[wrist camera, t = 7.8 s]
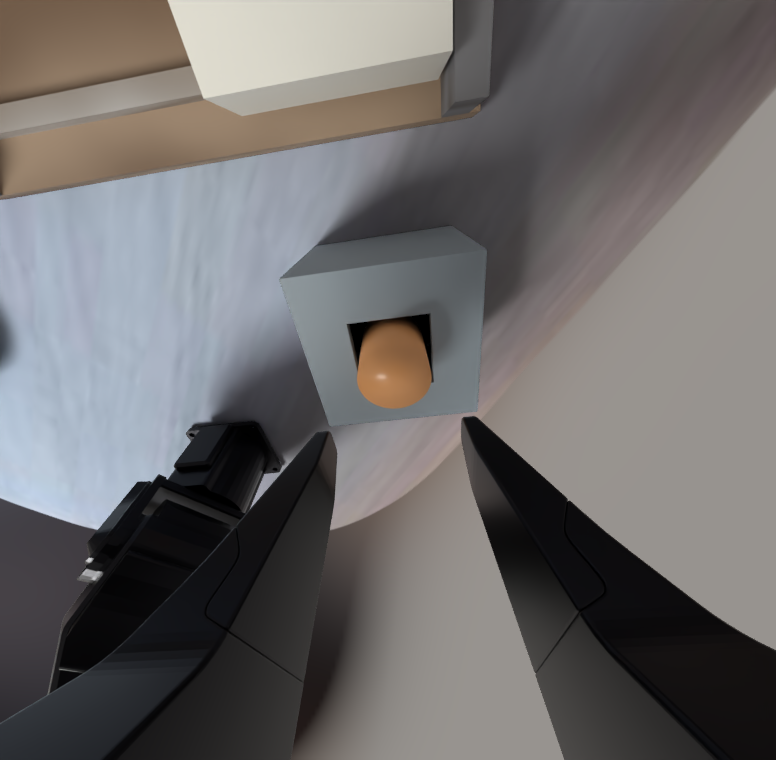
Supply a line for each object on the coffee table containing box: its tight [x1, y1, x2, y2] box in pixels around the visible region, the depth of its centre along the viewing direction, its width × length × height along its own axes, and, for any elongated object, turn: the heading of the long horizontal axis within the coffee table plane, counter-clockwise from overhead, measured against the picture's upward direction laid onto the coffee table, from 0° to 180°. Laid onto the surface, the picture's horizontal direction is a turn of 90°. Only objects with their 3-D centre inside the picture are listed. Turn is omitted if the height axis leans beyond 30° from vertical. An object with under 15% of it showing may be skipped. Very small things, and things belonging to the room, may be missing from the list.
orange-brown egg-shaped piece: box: [357, 316, 432, 409], centre depth 13 cm, size 3×3×4 cm
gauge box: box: [279, 226, 487, 427], centre depth 16 cm, size 8×8×7 cm
